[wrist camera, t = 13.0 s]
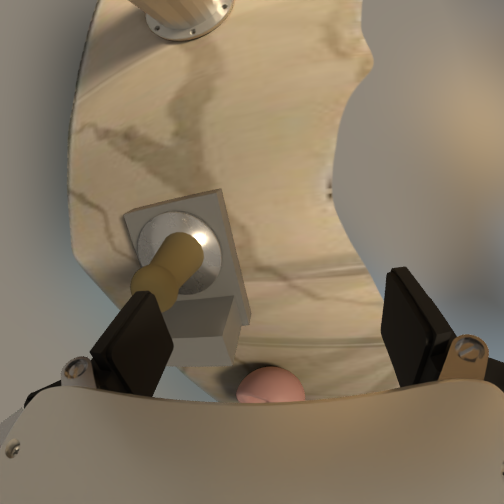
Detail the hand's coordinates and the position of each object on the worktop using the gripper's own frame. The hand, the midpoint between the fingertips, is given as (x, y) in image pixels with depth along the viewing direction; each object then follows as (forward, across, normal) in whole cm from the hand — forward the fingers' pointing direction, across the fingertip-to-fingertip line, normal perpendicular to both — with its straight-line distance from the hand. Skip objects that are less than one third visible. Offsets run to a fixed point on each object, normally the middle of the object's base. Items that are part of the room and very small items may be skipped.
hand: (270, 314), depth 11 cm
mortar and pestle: (+27, +5, +34) cm, 44 cm away
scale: (+27, +14, +10) cm, 32 cm away
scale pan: (+24, +14, +7) cm, 29 cm away
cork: (+23, +13, +6) cm, 28 cm away
